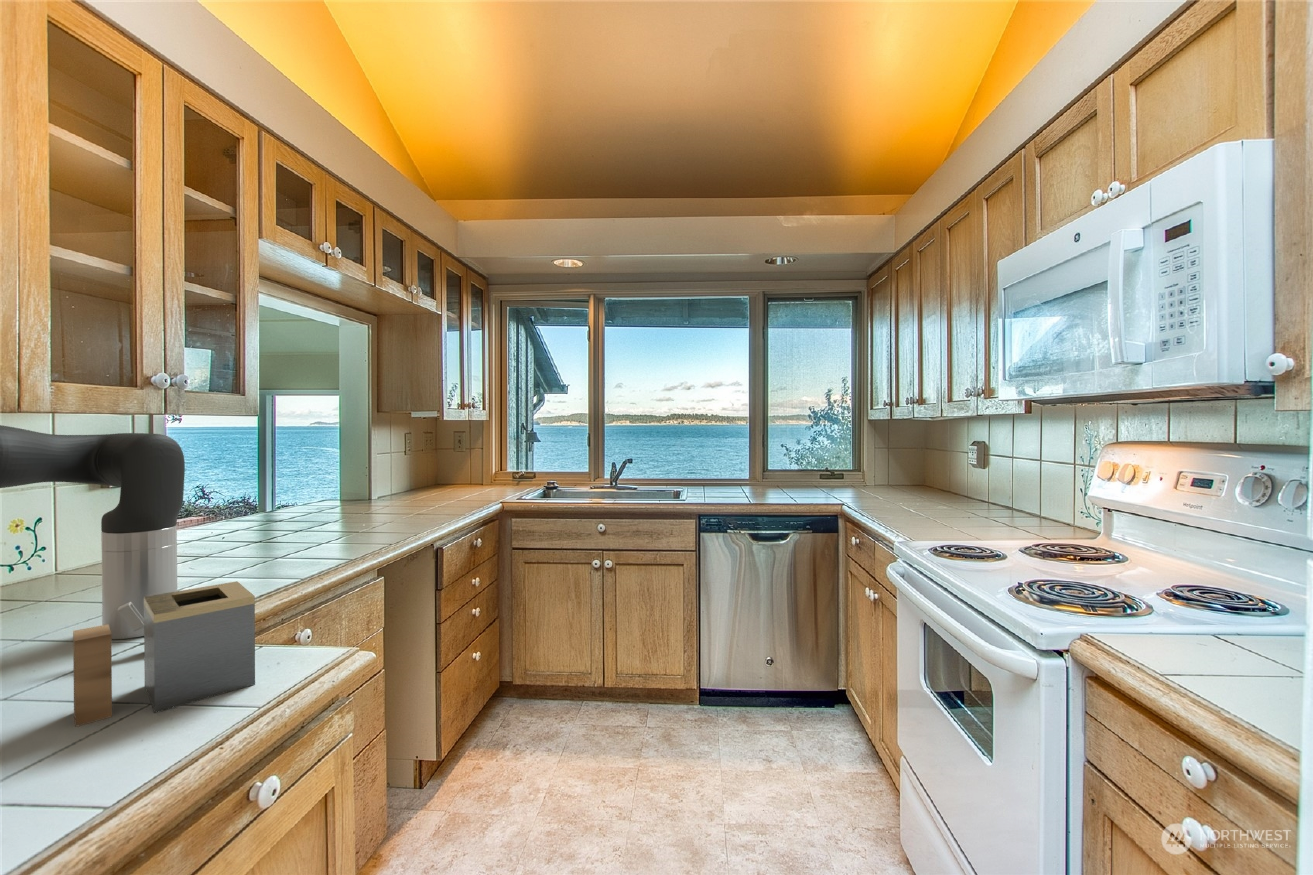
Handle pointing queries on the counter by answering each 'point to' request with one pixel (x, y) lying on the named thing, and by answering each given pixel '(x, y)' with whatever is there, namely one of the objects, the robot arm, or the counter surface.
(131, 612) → the lighter
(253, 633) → the coin box
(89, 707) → the wooden block
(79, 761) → the counter surface
